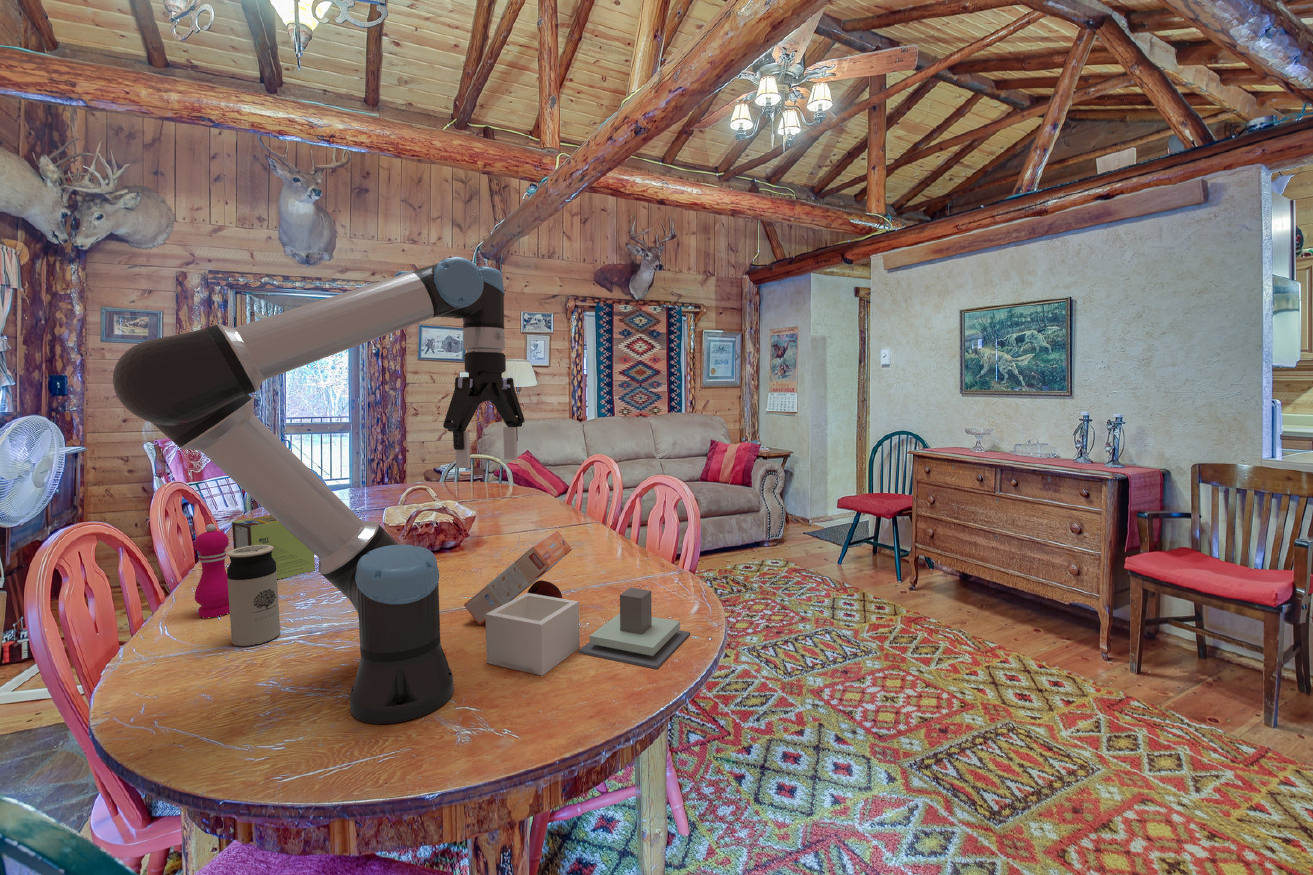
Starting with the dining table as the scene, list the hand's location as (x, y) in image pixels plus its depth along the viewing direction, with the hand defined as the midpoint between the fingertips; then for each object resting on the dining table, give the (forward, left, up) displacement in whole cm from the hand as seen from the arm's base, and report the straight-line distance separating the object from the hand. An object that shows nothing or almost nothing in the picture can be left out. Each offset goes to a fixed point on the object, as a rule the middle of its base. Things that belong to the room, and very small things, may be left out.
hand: (488, 463), depth 114 cm
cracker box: (+10, +10, -33) cm, 36 cm away
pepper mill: (-14, +65, -35) cm, 75 cm away
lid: (+9, -27, -34) cm, 44 cm away
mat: (+9, -27, -35) cm, 45 cm away
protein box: (+9, +80, -35) cm, 88 cm away
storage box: (-3, -12, -35) cm, 37 cm away
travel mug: (-19, +43, -35) cm, 59 cm away
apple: (+13, -3, -35) cm, 37 cm away
